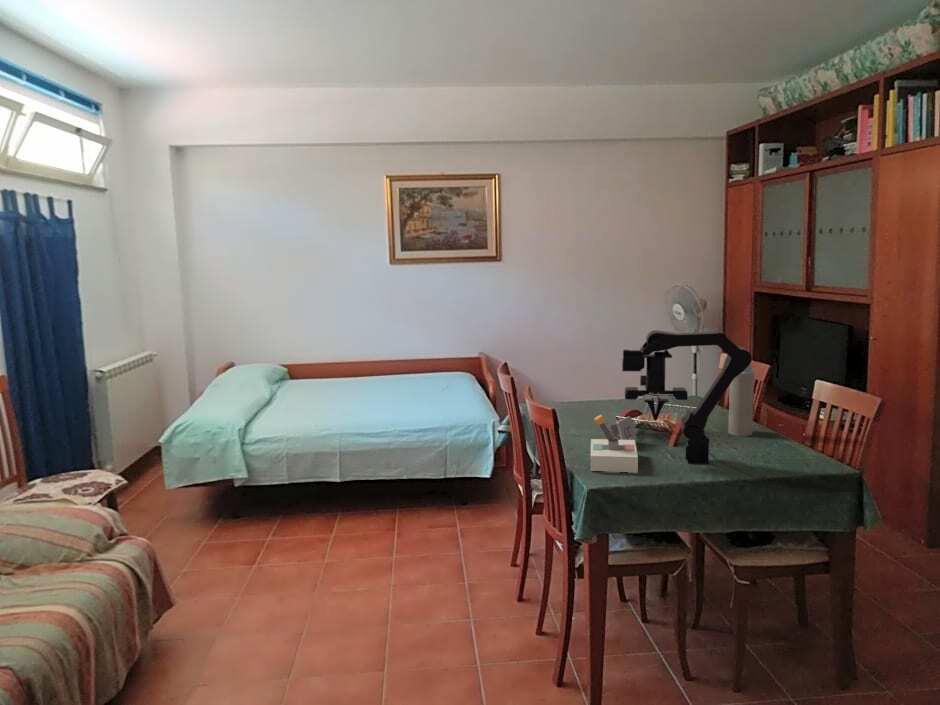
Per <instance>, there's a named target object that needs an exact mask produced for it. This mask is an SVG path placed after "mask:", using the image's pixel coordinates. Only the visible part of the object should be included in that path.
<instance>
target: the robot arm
mask: <svg viewBox="0 0 940 705" xmlns="http://www.w3.org/2000/svg"><path fill="white" fill-rule="evenodd" d="M697 346H698V347H699V346H703V347H704V346H718V347H719V348H720V349H721V350H722V351H723V352H724V353H726V354H727V355H726V357H725V360H724V361H723V366H722V369H721V371H720V373H719V374H718V375H717V377H716V378H715V380H714V382H713V383H712V384H711V386H710V387H709V389H708V391H707V392H706V393H705V395H704V396H703V397H702V399H701V401H700V402H699V404H698V405H697V406H696V408H695V409H693V410H690V409H687V410H686V412H685V414H684V416H683V417H681V419H680V420H681V423H680V429H681V431H682V434H683V435H684V437H685V438H686V444H685V445H684V458H685V460H686V462H687V464H695V465H696V464H700V465H701V464H702V465H708V464H709V465H710V459H709V458H710V457H709V454H710V453H709V452H710V448H709V447H710V438H709V436H708V433H707V432H706V431H705V428H706V425H707V422H708V419H709V416H710V415H711V413H712V412H713V410H714V409H715V407H716V406H717V404H718V403H719V401H720V400H721V398H723V396H724V394H725V392H727V389H728V388H730V384H731V382H732V381H733V379H734V378H735V377H737V376H738V375H739V374H741V373H742V372H743V371H744V370H745V369H746V368H747V367H748V366H749V365H750V364H752V360H753V358H752V354H751V353H750V352H749V351H748V350H747V349H745V347H743V346H739V345H738V346H737V345H736V344H735V343H734V342H733V341H732V340H730V339H729V338H728V337H727V336H726V334H725V333H724V332H722V331H721V330H720V331H719V330H716V331H707V332H681V333H679V332H678V333H677V332H676V333H675V332H670V331H664V330H651V331H650V332H648V333H647V336H646V338H645V342H644V343H643V345H642V346H641V348H640V349H635V350H634V349H633V350H632V349H623V350H622V358H621V360H622V361H621V364H622V366H621V368H622V370H621V371H622V372H642V370H643V369H645V367H646V369H645V370H646V371H645V372H646V375H640V376H639V378H640V379H639V382H640V386H641V387H643V386H644V388H645V390H644V389H639V388H638V387H637V386H634V387H633V386H631V387H630V386H627V387H625V388H624V398H625V400H637V399H638V398H639V397H642V398H643V402H644V403H647V405H648V406H649V408H650V412H651V414H652V418H653V421H657V420H658V418H659V416H660V413H661V411H662V408H663V406H664V405H665V403H669V397H673V398H674V399H675V400H677V401H686V400H688V396H689V395H688V391H687V389H686V388H685V387H672V390H671V389H670V390H666V359H672V358H673V354H671V353H670V352H669V351H668V350H670V349H674V348H677V347H678V348H679V347H697ZM645 359H646V360H645ZM645 362H646V363H645ZM645 365H646V366H645ZM654 397H656V407H655V401H654Z"/></svg>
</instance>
